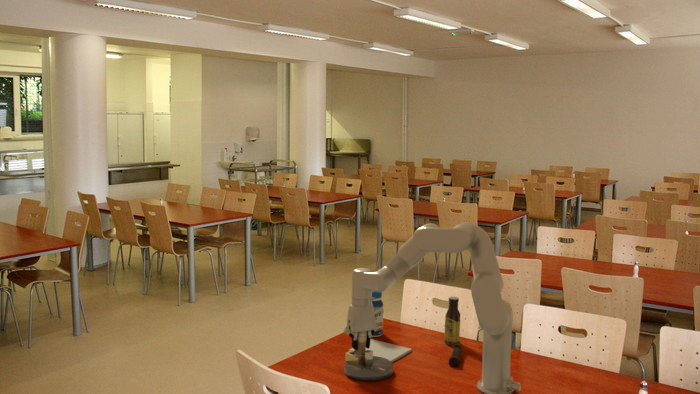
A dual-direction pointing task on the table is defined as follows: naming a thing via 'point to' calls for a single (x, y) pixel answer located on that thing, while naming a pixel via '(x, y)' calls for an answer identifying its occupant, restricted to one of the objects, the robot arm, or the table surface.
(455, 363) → the hand tool
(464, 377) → the table surface
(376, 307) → the beverage bottle
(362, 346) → the beige rounded cylinder
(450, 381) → the table surface
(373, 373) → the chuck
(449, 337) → the sauce bottle
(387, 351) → the mat
